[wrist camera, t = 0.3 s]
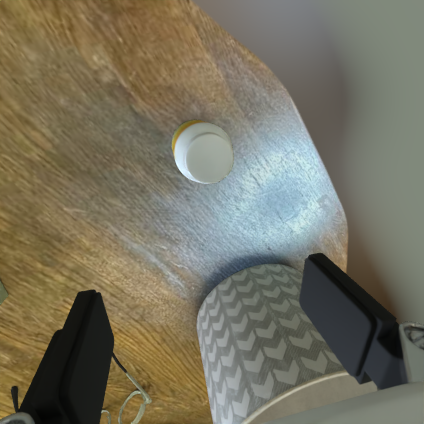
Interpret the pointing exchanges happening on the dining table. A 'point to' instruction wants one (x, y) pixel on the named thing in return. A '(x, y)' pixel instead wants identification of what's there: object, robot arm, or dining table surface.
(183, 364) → the dining table surface
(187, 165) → the supplement bottle
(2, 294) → the socket block
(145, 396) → the eyeglasses
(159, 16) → the dining table surface
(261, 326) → the planter
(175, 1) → the dining table surface
